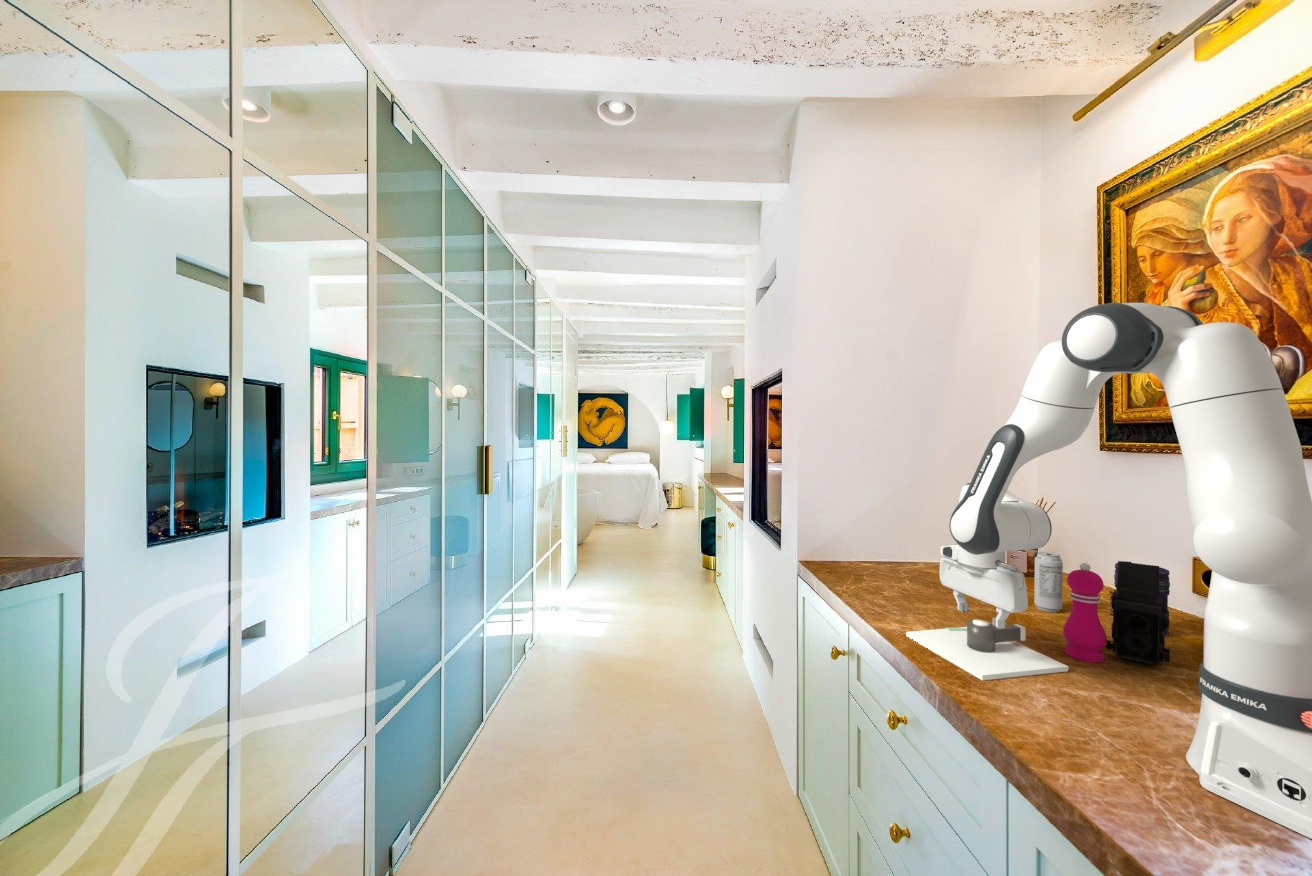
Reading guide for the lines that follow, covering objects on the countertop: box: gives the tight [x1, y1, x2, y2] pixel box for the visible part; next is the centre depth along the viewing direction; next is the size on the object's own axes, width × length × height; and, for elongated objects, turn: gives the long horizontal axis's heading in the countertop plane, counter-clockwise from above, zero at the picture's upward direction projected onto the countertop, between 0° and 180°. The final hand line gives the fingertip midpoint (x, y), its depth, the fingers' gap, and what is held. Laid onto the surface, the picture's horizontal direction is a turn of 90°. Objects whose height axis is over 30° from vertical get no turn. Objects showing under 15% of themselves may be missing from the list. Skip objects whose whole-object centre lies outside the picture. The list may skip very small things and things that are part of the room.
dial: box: [966, 619, 1026, 652], centre depth 112 cm, size 13×5×5 cm, turn 101°
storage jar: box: [1113, 562, 1171, 637], centre depth 125 cm, size 10×10×15 cm
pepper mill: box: [1062, 562, 1108, 664], centre depth 110 cm, size 7×7×20 cm
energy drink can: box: [1033, 551, 1064, 613], centre depth 139 cm, size 6×6×15 cm
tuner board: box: [905, 626, 1069, 681], centre depth 112 cm, size 22×20×1 cm
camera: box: [1105, 560, 1171, 666], centre depth 108 cm, size 10×14×20 cm
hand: (980, 618), depth 112 cm, fingers open, 8 cm apart
